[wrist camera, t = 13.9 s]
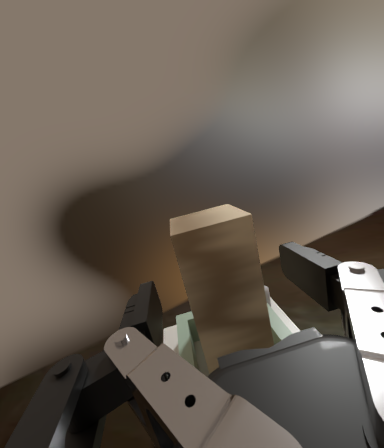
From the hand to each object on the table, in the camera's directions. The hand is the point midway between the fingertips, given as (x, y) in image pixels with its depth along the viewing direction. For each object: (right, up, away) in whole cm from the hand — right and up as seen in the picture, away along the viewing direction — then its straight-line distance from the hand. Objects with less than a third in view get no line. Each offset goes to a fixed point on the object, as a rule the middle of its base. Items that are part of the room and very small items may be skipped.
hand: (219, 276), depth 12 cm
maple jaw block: (+2, -8, +3) cm, 9 cm away
